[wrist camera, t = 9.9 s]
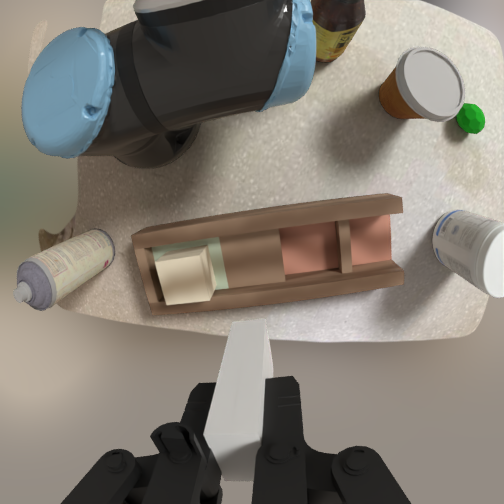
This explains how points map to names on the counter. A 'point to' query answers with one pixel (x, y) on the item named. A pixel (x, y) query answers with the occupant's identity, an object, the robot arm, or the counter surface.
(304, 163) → the counter surface
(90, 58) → the robot arm
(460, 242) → the supplement tub
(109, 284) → the counter surface
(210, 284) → the birch block
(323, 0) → the sauce bottle
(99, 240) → the aerosol can
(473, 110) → the polyhedron
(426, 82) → the disposable coffee cup
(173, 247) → the box
